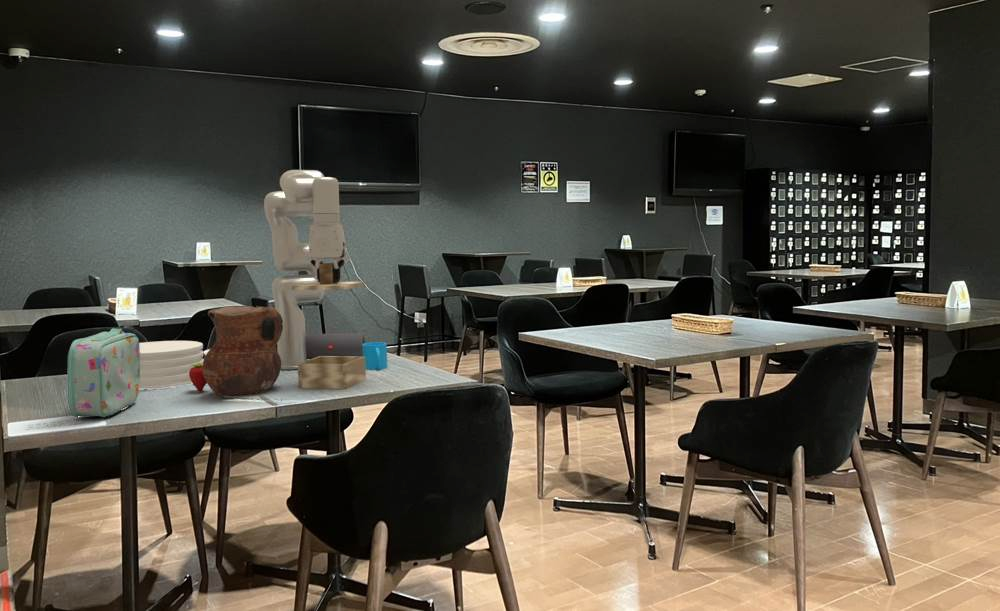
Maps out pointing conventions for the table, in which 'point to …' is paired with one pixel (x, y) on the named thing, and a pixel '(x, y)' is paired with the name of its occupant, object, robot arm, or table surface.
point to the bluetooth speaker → (334, 345)
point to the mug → (375, 355)
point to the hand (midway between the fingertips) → (328, 281)
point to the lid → (327, 281)
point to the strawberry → (197, 376)
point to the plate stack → (168, 362)
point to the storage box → (331, 372)
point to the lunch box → (103, 373)
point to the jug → (243, 351)
